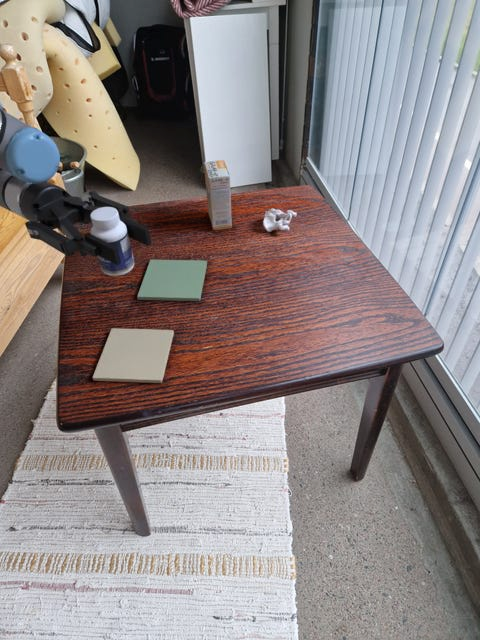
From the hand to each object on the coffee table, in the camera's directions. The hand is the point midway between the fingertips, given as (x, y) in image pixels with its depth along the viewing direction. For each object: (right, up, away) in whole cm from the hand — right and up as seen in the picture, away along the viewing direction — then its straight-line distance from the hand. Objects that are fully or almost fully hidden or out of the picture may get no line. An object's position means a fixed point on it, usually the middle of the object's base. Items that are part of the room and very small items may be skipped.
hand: (133, 246), depth 62 cm
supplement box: (+11, +13, +39) cm, 42 cm away
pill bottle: (-4, -2, +7) cm, 8 cm away
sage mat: (+3, -3, +22) cm, 23 cm away
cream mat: (-2, -17, +8) cm, 19 cm away
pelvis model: (+25, +11, +36) cm, 45 cm away
